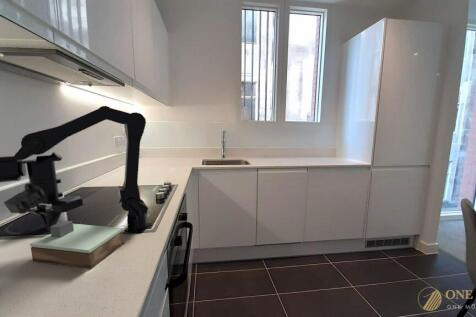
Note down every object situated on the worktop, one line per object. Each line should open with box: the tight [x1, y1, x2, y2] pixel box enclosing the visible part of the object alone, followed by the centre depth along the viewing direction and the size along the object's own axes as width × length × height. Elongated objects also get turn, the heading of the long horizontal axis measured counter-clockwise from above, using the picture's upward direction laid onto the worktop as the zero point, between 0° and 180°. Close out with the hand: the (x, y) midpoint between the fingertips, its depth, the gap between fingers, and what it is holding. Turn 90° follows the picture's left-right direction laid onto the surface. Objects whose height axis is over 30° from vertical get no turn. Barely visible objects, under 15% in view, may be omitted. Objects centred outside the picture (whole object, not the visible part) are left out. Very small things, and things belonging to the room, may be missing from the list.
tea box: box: [30, 231, 125, 270], centre depth 63 cm, size 12×18×4 cm, turn 79°
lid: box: [29, 220, 123, 253], centre depth 62 cm, size 12×18×4 cm, turn 80°
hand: (51, 230), depth 64 cm, fingers closed
